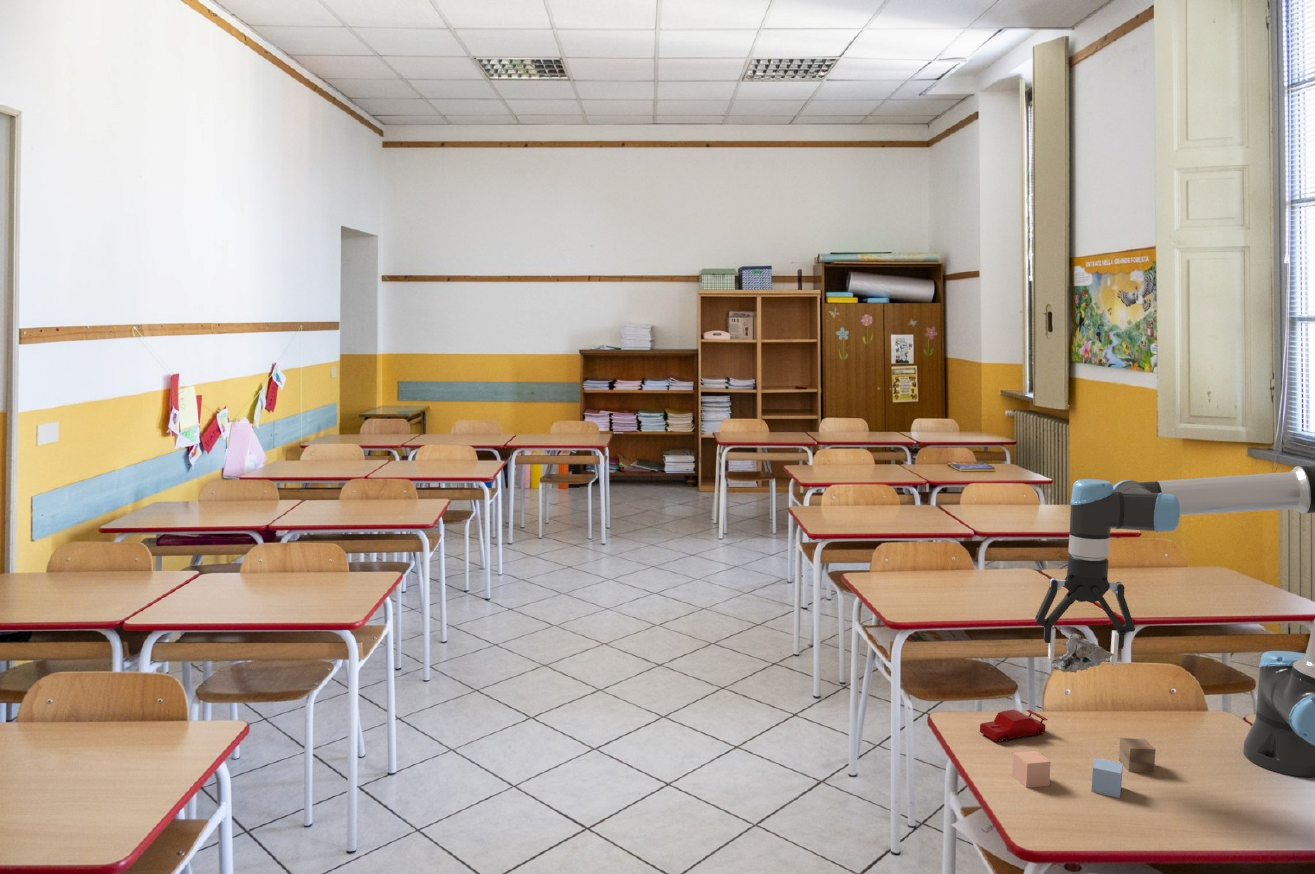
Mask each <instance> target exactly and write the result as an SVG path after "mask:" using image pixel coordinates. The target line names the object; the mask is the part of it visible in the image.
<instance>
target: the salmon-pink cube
mask: <svg viewBox="0 0 1315 874" xmlns="http://www.w3.org/2000/svg"><path fill="white" fill-rule="evenodd" d="M1012 755H1013V756H1012V773H1011V776H1012V777H1013V778H1014V779H1015V780H1017V781H1018V782H1019V783H1020V784H1021V785H1023V786H1024V787H1025V788H1035V787H1036V788H1037V787H1047V786H1050V781H1051V779H1050V778H1051V777H1050V775H1051V761H1050V760H1049V759H1048V758H1046V757H1045V756H1044V755H1043V754H1041V753H1040V752H1039V751H1037V750H1030V751H1016V752H1013V754H1012Z"/></svg>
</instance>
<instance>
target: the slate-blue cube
mask: <svg viewBox="0 0 1315 874" xmlns="http://www.w3.org/2000/svg"><path fill="white" fill-rule="evenodd" d="M1123 768H1124V766H1123V763H1121V762H1120V761H1118V762H1117V761H1113V760H1108V759H1102V758H1098V757H1094V761H1093V765H1092V777H1091V778H1092V779H1091V790H1090V791H1091V792H1092V793H1096V794H1100V795H1105V796H1109V797H1114V798H1121V791H1122V784H1123V783H1122V781H1123Z"/></svg>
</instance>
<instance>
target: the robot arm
mask: <svg viewBox="0 0 1315 874" xmlns="http://www.w3.org/2000/svg"><path fill="white" fill-rule="evenodd" d="M1071 491H1072V492H1071V500H1070V518H1069V520H1070V521H1069V538H1068V554H1069V555H1068V556H1067V567H1066V569H1067V570H1066V576H1065V578H1064V579H1057V578H1055V577H1050V579H1049V586H1048V590H1047V593H1046V594H1045V597H1044V598H1043V601H1042V602H1041V605H1040V606H1039V609H1038V611H1037V613H1036V615H1035V618H1034V620H1035V622H1036V625H1038V626H1042V627H1043V641H1044V643H1046V644H1048V649H1047V650H1048V652H1047V654H1048V655H1047V657H1048V660H1050V661H1052V662H1053V661H1054V660H1055V648H1056V647H1055V645H1056V630H1057V629H1056V628H1055V624H1056V623H1057V622H1058V621H1059V620H1060V618H1061V617H1062V615H1064V613H1065V612H1067V610H1068V609H1069V607H1071V605H1073V604H1074V603H1075V602H1076V601H1077V602H1078V603H1079V602H1080V603H1084V602H1085V603H1086V602H1088V603H1093V604H1095V603H1096V602H1098V603H1099V604H1100V606H1101V607H1102V609H1103V611H1104V612H1105V614H1106V615H1107V617H1108V619H1109V620H1110V621H1111V623H1112V625H1113V626H1114V627H1115V629H1116V630H1111V640H1110V641H1111V643H1110V652H1111V653H1113V655H1112V656H1111V657H1109V662H1110V663H1111V665H1112V666H1114V667H1117V666H1118V655H1119V650H1123V648H1124V645H1125V644H1124V643H1125V636H1126V634H1127V633H1129V632H1131V633H1132V632H1133V633H1134V632H1135V631H1136V627H1135V625H1134V621H1133V618H1132V615H1131V612H1130V610H1129V607H1128V603H1127V600H1126V598H1125V586H1124V584H1123V583H1122V582H1121V581H1117V582H1109V579H1108V576H1109V575H1108V574H1109V559H1108V557H1109V556H1110V545H1111V544H1110V543H1111V542H1110V540H1111V530H1112V529H1114V530H1127V531H1128V530H1130V531H1131V530H1132V531H1146V532H1148V531H1149V532H1155V533H1160V532H1173V531H1175V530H1176V529H1178V526H1179V523H1180V518H1181V517H1180V516H1196V515H1209V514H1210V515H1211V514H1228V513H1244V512H1245V513H1250V512H1264V511H1281V510H1282V511H1283V510H1296V511H1297V512H1298V513H1300V514H1303V515H1304V514H1315V464H1311V465H1298V466H1295V467H1294V468H1293V469H1292V470H1291V471H1286V472H1285V471H1283V472H1270V473H1256V474H1242V475H1241V474H1240V475H1228V476H1227V475H1225V476H1210V477H1197V478H1196V477H1195V478H1182V479H1168V480H1166V479H1165V480H1156V481H1141V482H1140V481H1139V482H1138V481H1137V480H1136V481H1135V480H1129V479H1126V480H1125V479H1124V480H1121V481H1119V482H1116V483H1115V484H1114V485H1113V483H1112V482H1111V481H1108V480H1103V479H1094V478H1084V479H1083V478H1082V479H1081V478H1080V479H1078V480H1076V481H1075V482H1074V483H1073V485H1072V490H1071ZM1062 587H1065V588H1066V589H1067V593H1065V595H1064V596H1063V598H1062V600H1061V601H1060V602H1059V603H1058V604H1056V605H1057V606H1056V607H1055V608H1054V609H1053V610H1052V611H1051V613H1049V611H1050V610H1051V607H1052V605H1053V603H1054V600H1055V598H1056V595H1058V594H1057V593H1058V591H1060V590H1061V589H1062ZM1109 590H1111V592H1112V593H1113V594H1114V595H1115V597H1116V601H1117V604H1118V607H1119V609H1120V612H1121V617H1122V619H1123V621H1124V623H1125V624H1121V622H1120V621H1119V619H1118V617H1117V616H1116V614H1115V613H1114V611H1113V609H1112V608H1111V607H1110V605H1109V604H1108V602H1107V601H1106V598H1105V597H1104V595H1105V594H1106V593H1107V592H1108V591H1109ZM1048 613H1049V615H1048ZM1047 615H1048V616H1047ZM1046 617H1047V618H1046ZM1258 668H1259V672H1258V684H1257V685H1258V686H1257V697H1256V698H1257V699H1256V710H1255V711H1256V712H1255V719H1254V722H1253V723H1252V726H1251V727H1250V729H1249V731H1248V733H1247V735H1246V737H1245V739H1244V742H1243V749H1242V754H1243V755H1244V757H1246V758H1247V760H1249V761H1250V762H1251V763H1254V764H1255V765H1258V766H1259V767H1262V768H1264V769H1266V770H1267V769H1268V770H1270V771H1273V772H1277V773H1281V774H1284V775H1290V776H1295V777H1306V778H1311V777H1312V778H1313V777H1315V619H1314V620H1313V624H1312V627H1311V633H1310V636H1309V639H1308V643H1307V647H1306V652H1305V653H1304V652H1303V653H1302V652H1296V651H1286V650H1285V651H1284V650H1268V651H1266V652H1264V653H1263V654H1262V655H1261V658H1260V663H1259V665H1258Z"/></svg>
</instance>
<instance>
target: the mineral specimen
mask: <svg viewBox="0 0 1315 874" xmlns="http://www.w3.org/2000/svg"><path fill="white" fill-rule="evenodd" d="M1065 645H1066V650H1067V651H1066V653H1065V654H1063V655H1062V657H1061V658H1058V659H1054V661H1053V660H1052V663H1051V665H1052V668H1053V670H1056V671H1057V670H1058V671H1061V672H1063V673H1077V671H1085V670H1086V671H1087V670H1088V669H1089V668H1094V667H1097V666H1098V667H1099V666H1100V665H1101V664H1102V663H1103V661H1105V660H1107V659H1110V657H1111V656H1112V655H1113V653H1111V651H1108V650H1105V648H1104V647H1101V646H1100V645H1097V644H1096V643H1095V642H1093V641H1091V640H1089V639H1087V638H1082V635H1080V634H1077V633H1070V634H1069V635H1068V640H1067V641H1066V644H1065Z"/></svg>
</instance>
